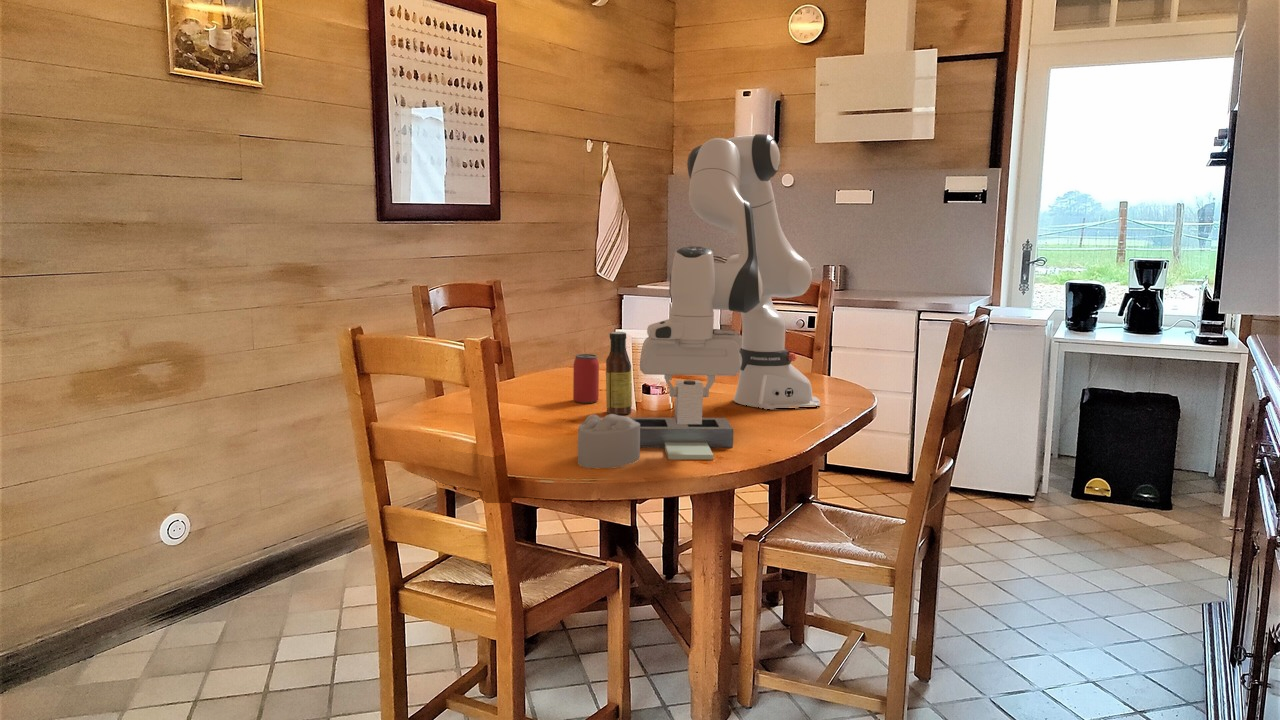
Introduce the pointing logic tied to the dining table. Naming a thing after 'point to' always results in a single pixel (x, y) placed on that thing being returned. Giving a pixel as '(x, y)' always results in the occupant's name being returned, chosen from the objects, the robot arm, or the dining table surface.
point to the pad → (688, 451)
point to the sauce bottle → (618, 376)
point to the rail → (684, 432)
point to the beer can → (586, 378)
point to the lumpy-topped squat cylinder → (608, 441)
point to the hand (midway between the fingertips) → (688, 396)
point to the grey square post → (689, 402)
